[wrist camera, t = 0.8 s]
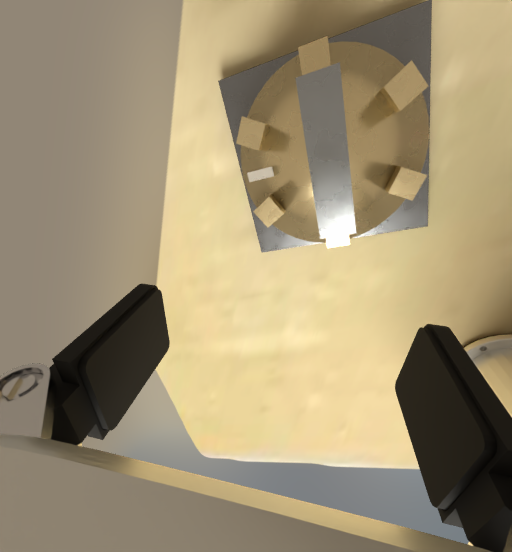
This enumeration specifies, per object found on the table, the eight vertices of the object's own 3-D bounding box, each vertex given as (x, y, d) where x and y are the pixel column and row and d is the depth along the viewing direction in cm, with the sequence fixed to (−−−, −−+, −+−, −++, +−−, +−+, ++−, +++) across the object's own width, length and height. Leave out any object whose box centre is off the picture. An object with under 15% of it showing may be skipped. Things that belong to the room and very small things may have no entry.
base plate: (423, 9, 24) (431, -1, 22) (421, 221, 32) (427, 226, 30) (224, 84, 30) (218, 81, 28) (264, 247, 38) (261, 252, 36)
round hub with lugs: (418, 18, 23) (479, -57, 14) (418, 219, 30) (457, 252, 21) (228, 88, 28) (187, 65, 20) (266, 245, 35) (248, 279, 27)
